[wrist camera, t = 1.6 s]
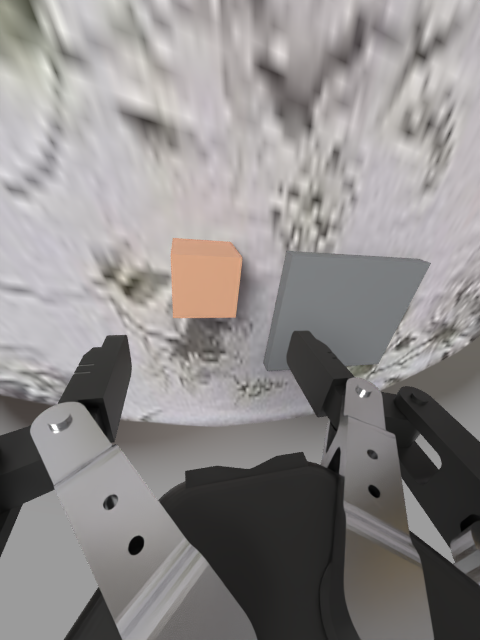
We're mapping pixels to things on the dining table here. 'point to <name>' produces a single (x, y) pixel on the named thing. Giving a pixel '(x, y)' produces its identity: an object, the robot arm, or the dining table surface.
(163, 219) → the dining table surface
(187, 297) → the cube
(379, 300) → the mat
